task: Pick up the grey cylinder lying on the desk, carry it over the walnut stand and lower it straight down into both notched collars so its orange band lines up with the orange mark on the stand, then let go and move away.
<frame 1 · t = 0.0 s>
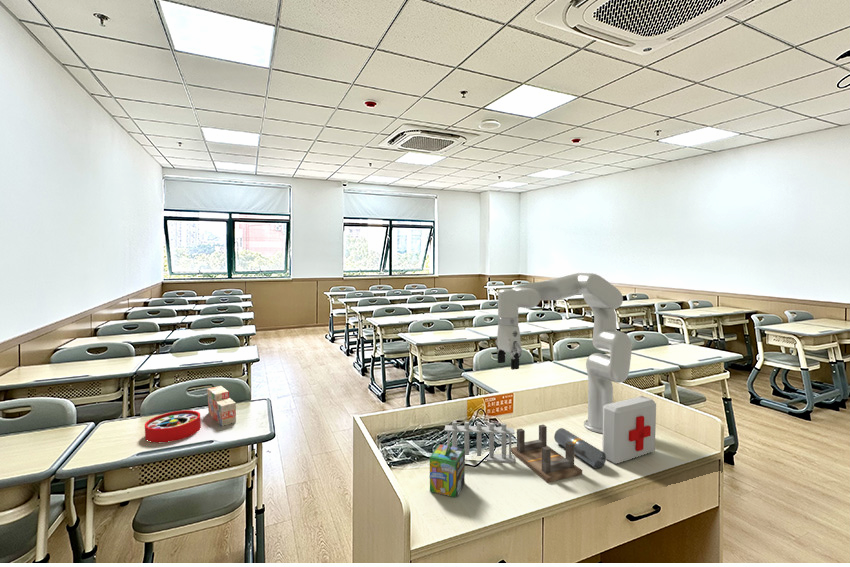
hand: (508, 365, 152), 31 cm above the table, tool pointing down, fingers open, 9 cm apart
chalk box: (447, 488, 125), on the table
stack of blocks: (222, 418, 184), on the table
bevelled white case: (630, 456, 144), on the table
grey cylinder: (578, 447, 145), point 3 cm above the table
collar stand: (544, 462, 140), on the table
test tube rack: (479, 459, 144), on the table
toy clock: (174, 433, 169), on the table
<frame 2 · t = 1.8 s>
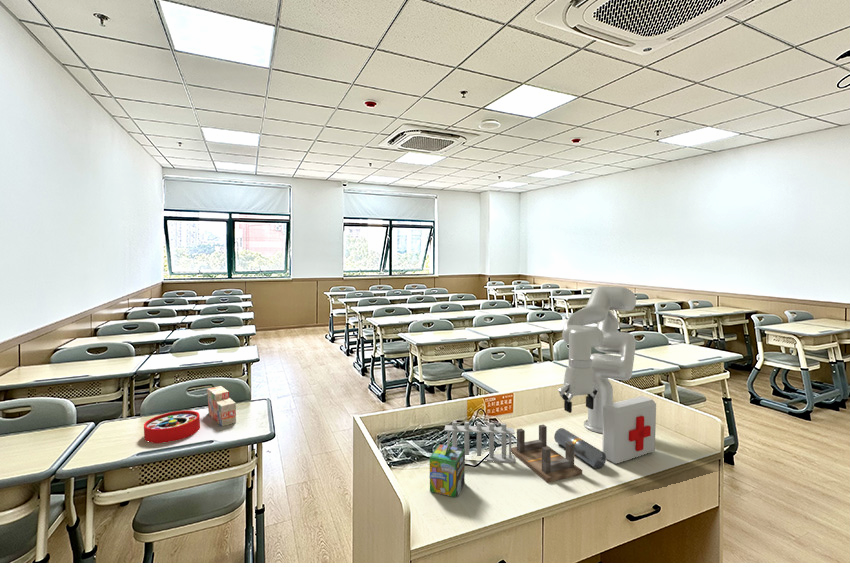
hand: (578, 409, 144), 17 cm above the table, tool pointing down, fingers open, 9 cm apart
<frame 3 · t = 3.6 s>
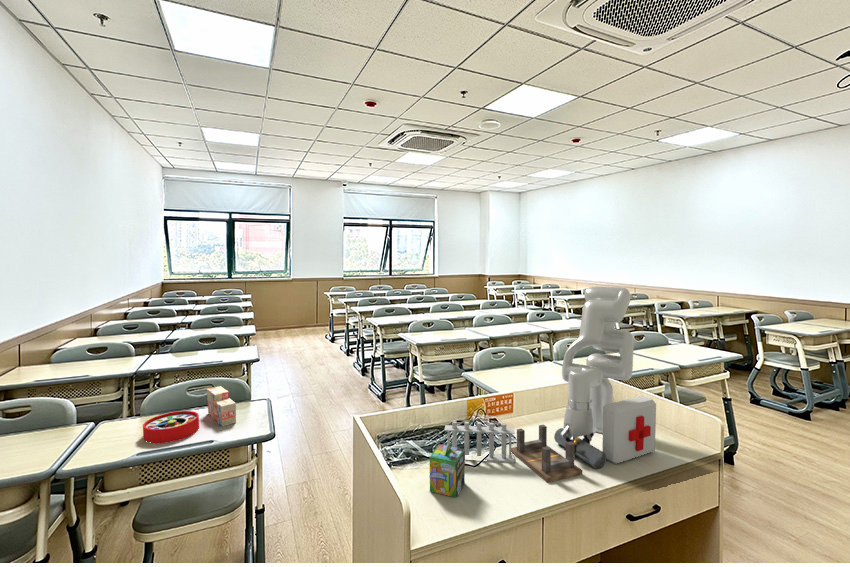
hand: (578, 451, 145), 1 cm above the table, tool pointing down, fingers closed on grey cylinder, 6 cm apart
grey cylinder: (578, 447, 145), point 3 cm above the table, touching gripper
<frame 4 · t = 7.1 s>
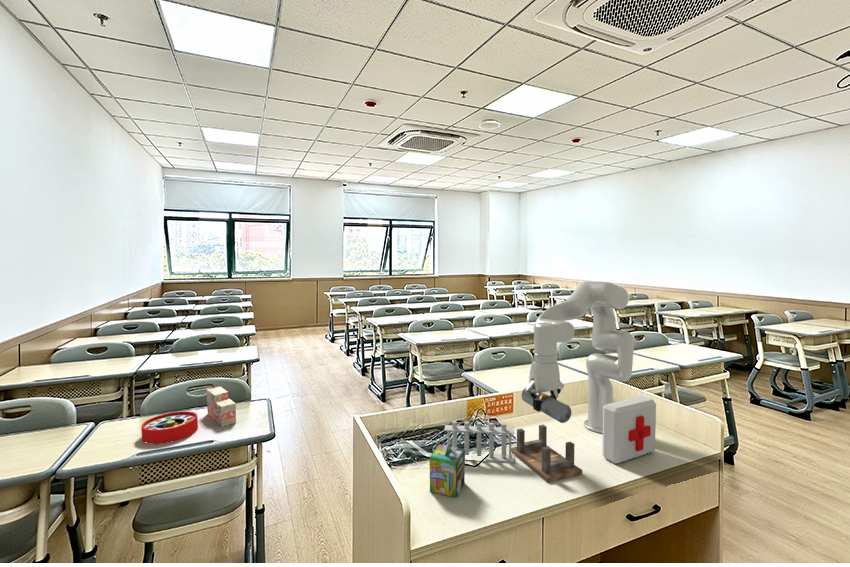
hand: (544, 408, 139), 19 cm above the table, tool pointing down, fingers closed on grey cylinder, 6 cm apart
grey cylinder: (544, 403, 139), point 21 cm above the table, touching gripper
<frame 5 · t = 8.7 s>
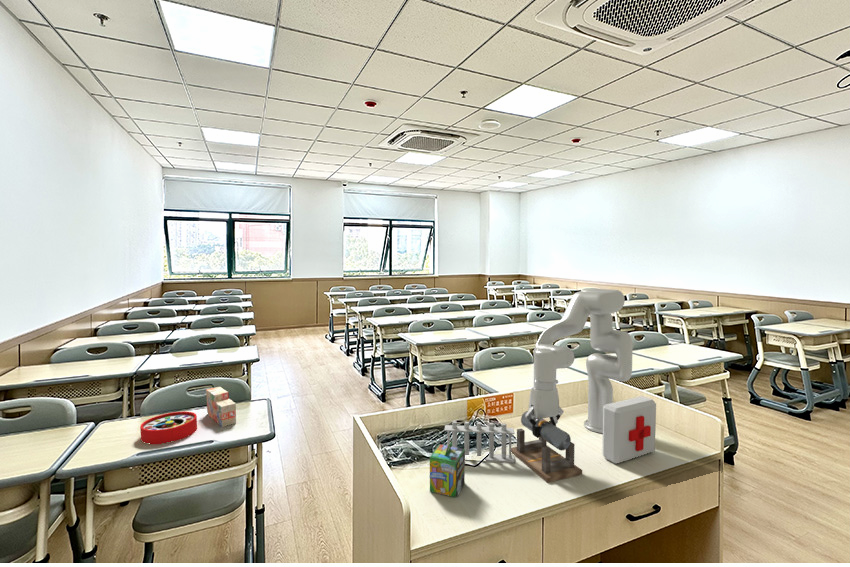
hand: (544, 434, 139), 10 cm above the table, tool pointing down, fingers closed on grey cylinder, 6 cm apart
grey cylinder: (544, 429, 139), point 12 cm above the table, touching gripper
when the fingers open (6 cm above the table, at t = 10.4 s): grey cylinder drops 1 cm, resting on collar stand.
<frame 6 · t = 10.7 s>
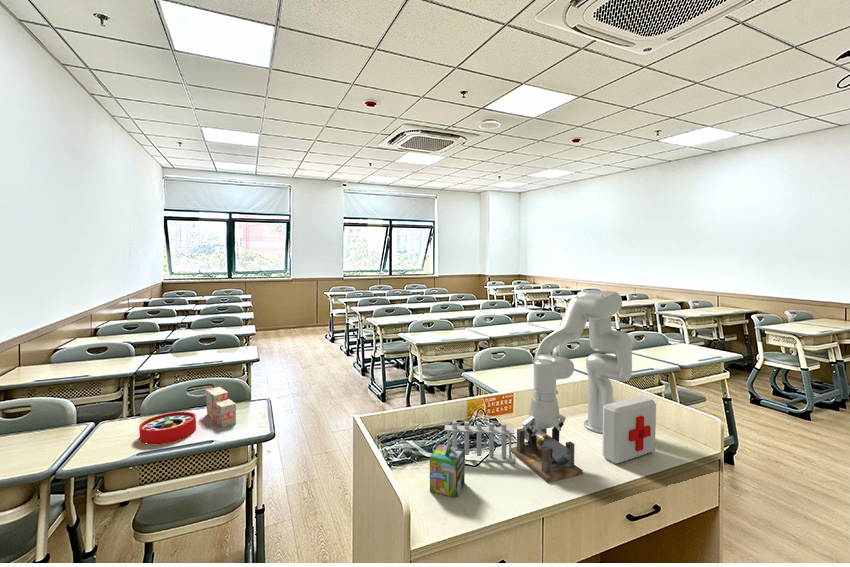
hand: (544, 443, 140), 7 cm above the table, tool pointing down, fingers open, 9 cm apart
grey cylinder: (544, 443, 140), point 7 cm above the table, touching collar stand
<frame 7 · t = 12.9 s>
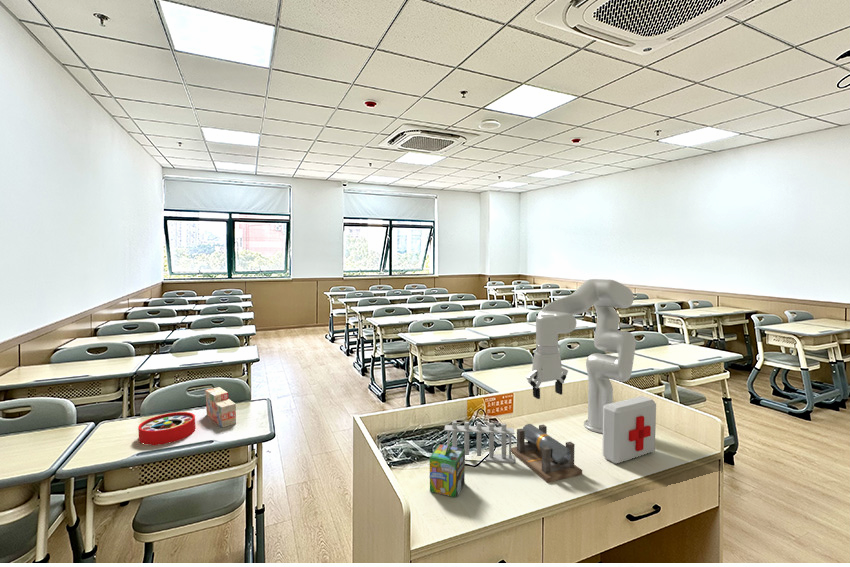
hand: (547, 395, 143), 22 cm above the table, tool pointing down, fingers open, 9 cm apart
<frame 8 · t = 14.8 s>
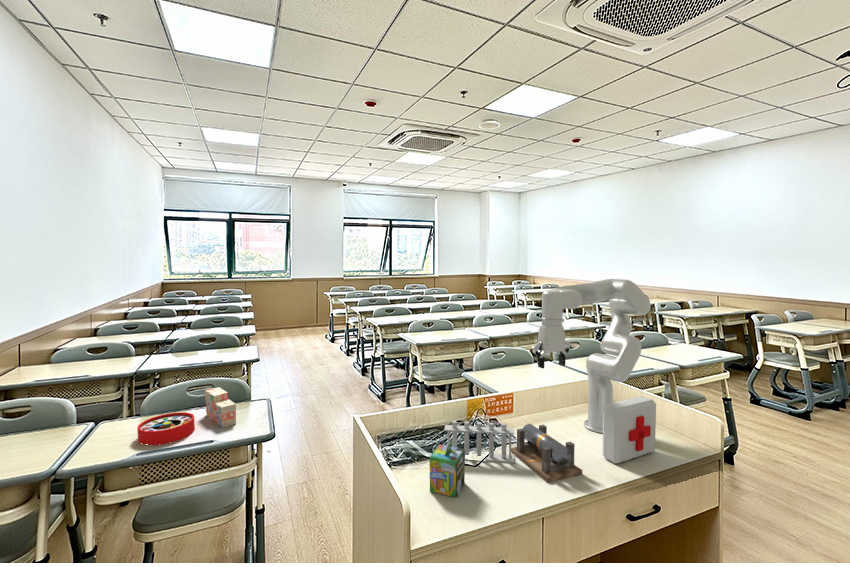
hand: (551, 366, 153), 30 cm above the table, tool pointing down, fingers open, 9 cm apart
at the end: grey cylinder 0.2 cm off-centre on the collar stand, point 7.0 cm above the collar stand's base; grey cylinder touching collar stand; the gripper is holding nothing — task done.
